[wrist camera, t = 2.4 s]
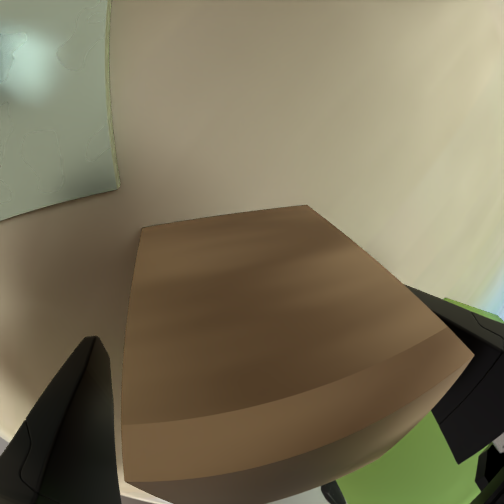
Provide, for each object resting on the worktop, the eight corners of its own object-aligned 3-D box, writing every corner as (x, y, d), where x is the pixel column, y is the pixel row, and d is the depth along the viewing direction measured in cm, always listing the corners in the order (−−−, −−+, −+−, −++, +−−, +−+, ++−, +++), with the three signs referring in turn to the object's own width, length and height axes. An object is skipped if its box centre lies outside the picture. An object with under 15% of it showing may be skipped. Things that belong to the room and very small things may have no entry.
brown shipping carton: (307, 204, 9) (474, 354, 3) (297, 322, 11) (377, 459, 6) (142, 227, 8) (123, 481, 2) (174, 347, 10) (205, 514, 4)
